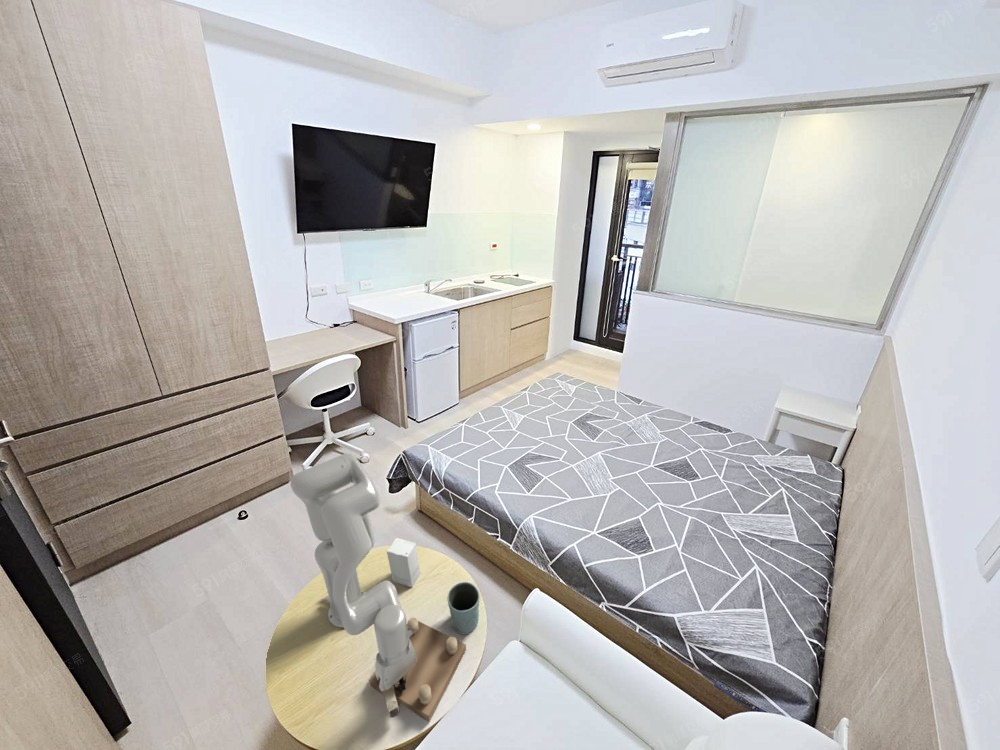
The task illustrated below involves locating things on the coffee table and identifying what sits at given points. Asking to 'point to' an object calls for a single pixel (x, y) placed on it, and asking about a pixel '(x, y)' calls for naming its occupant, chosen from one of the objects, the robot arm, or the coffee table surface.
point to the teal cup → (464, 607)
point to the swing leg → (391, 702)
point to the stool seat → (427, 669)
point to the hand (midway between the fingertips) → (400, 686)
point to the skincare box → (403, 562)
